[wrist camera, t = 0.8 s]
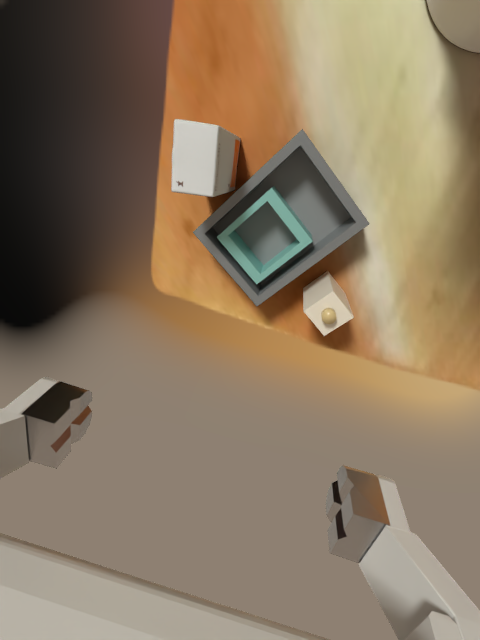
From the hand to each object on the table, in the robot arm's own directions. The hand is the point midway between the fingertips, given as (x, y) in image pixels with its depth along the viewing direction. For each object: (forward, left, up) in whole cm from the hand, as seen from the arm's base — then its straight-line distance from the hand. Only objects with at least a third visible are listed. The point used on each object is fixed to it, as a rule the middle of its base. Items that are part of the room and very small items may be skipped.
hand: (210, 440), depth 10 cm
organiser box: (-1, -1, -36) cm, 36 cm away
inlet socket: (+1, -1, -36) cm, 36 cm away
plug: (0, +10, -36) cm, 37 cm away
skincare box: (0, -11, -36) cm, 38 cm away
